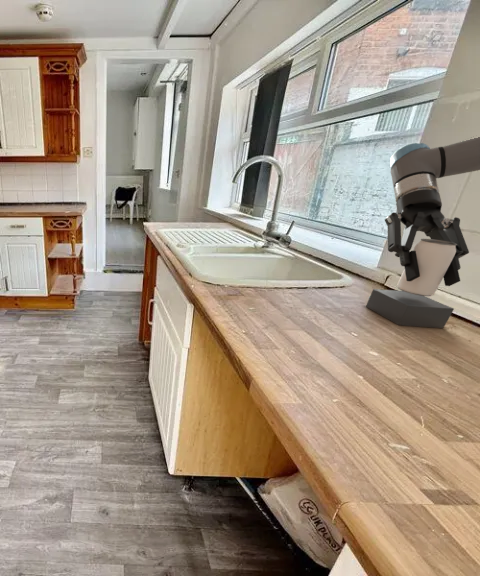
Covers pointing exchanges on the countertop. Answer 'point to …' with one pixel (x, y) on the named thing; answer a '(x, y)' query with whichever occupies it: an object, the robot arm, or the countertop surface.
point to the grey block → (409, 308)
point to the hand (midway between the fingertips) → (432, 280)
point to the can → (429, 266)
